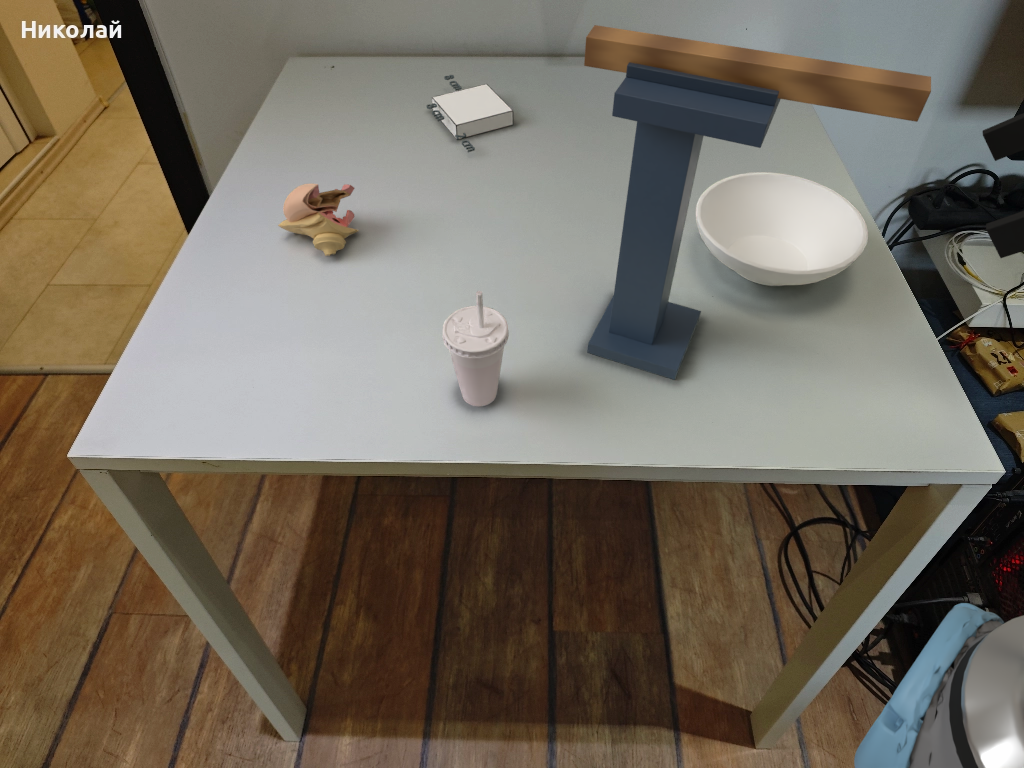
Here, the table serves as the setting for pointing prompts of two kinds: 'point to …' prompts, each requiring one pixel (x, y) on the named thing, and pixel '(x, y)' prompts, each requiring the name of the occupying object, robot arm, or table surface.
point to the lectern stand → (667, 204)
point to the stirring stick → (766, 72)
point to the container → (471, 111)
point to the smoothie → (476, 350)
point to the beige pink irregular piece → (318, 216)
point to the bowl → (780, 228)
